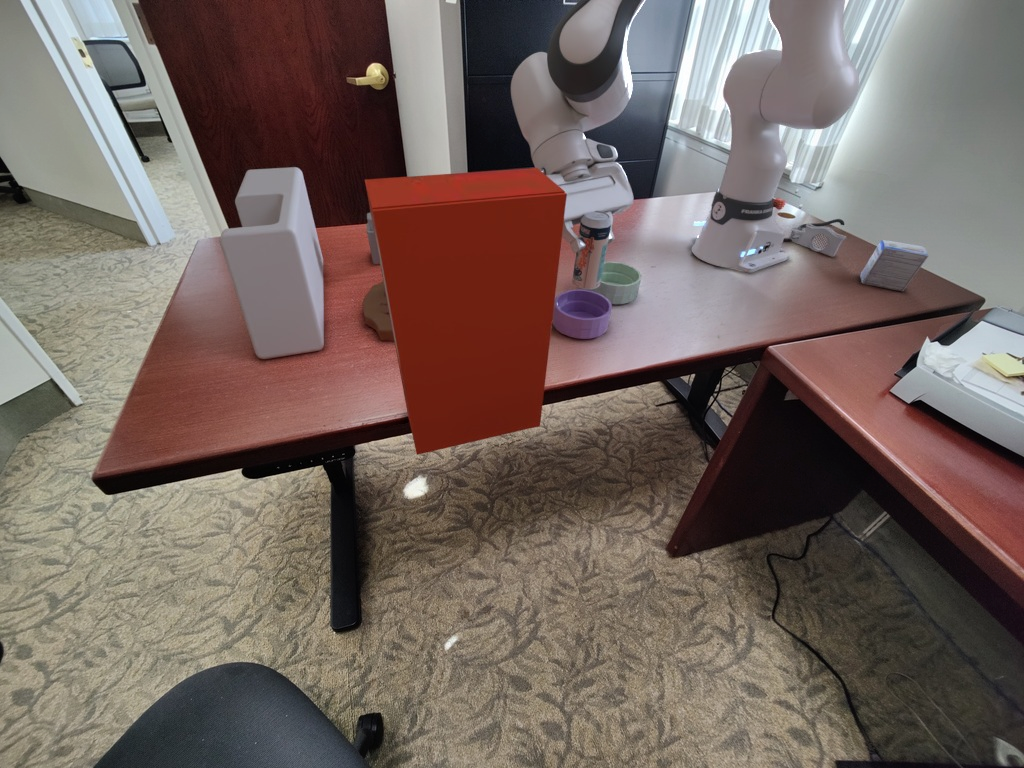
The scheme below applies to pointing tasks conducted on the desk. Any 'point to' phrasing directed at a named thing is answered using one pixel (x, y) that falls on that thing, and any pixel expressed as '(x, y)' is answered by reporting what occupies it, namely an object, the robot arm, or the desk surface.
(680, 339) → the desk surface
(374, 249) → the power adapter
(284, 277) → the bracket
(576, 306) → the lavender bowl
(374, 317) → the plant
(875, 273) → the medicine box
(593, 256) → the white cylindrical canister
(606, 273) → the celadon bowl
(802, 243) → the grey grilled flat device
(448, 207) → the red tall rectangular block
